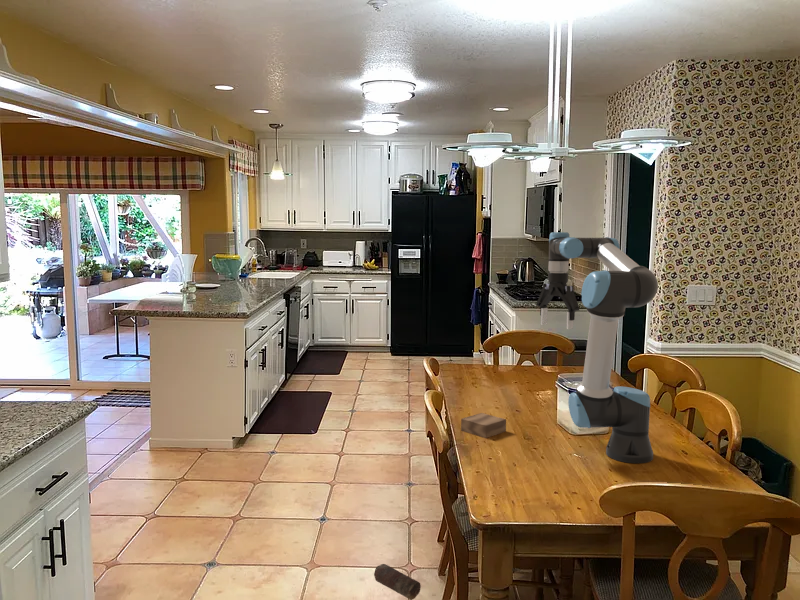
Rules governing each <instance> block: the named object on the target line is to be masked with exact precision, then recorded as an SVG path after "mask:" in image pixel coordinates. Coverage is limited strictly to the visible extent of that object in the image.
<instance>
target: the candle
mask: <svg viewBox="0 0 800 600" xmlns="http://www.w3.org/2000/svg"><path fill="white" fill-rule="evenodd" d="M373 576H374V579H375V581H376V582H378V584H380V585H382V586H385V587H387V589H390V590H392V591H394V592H396V593H397V594H399V595H402V596H403V597H405V598H407V599H408V600H414V599H416V598H417V596H418V595H419V594H420V592H421V587H422V586H421V585H422V584H421V582H420V581H418V580H416V579H413V578H412V577H410V576H408V575H406V574H404V573H402V572H401V571H399V570H397V569H395V568H394V567H392V566H390V565H388V564H385V563H382V564H380V565H377V566H376V567H375V569H374V572H373Z"/></svg>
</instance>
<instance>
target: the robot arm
mask: <svg viewBox="0 0 800 600" xmlns="http://www.w3.org/2000/svg"><path fill="white" fill-rule="evenodd" d="M548 239H549V240H548V270H547V271H549V272H548V273H547V275H548V276H547V281H548V283H543V284H542V289H541V291H540V294H539V297H538V299H537V302H536V304H535V305H536V307H539V308H540V312H539V315H540V325H541V326H544V325H548V305H549V303H550V302H551V301H552V300H553V298H554V297H560V299H561V300H562V302H563V303H564V305H565V307H566V309H567V312H566V330H571V329H574V321H575V315H576V314H575V313H576V312H577V311H580V307H579V304H578V300H577V298H576V294H575V292H574V290H575V289H574V285H568V282H569V273H568V272H569V261H570V259H598V261H600V262H601V263H602V264H603V265H604V266H605V267H607V269H608V270H606V269H605V270H599V271H598V270H597V271H596V270H594V271H592V272H590V273H589V274H588V275H586V277H585V279H584V281H583V284H582V287H581V293H580V295H581V303H582V305H583V306H584V307H585V308H586V312H587V313H588V314H589V316H590V317H589V318H590V320H589V327H588V334H587V342H586V350H585V357H584V358H585V359H584V365H583V371H582V372H583V373H582V380H581V382H579V383H578V384H577V385H576V391H575V392H571V393H570V394H569V396H568V399H567V400H568V402H567V403H568V411H569V415H570V418H571V420H572V422H573V424H574V425H575V426H576V427H578V428H583V429H584V428H585V429H591V428H592V429H594V428H612V431H611V434H610V436H609V439H608V442H607V444H606V448H605V454H606V456H607V457H609V458H611V459H613V460H615V461H617V462H622V463H626V464H627V463H629V464H646V463H650V462H652V461H653V459H654V451H653V449H652V448H653V447H652V444H651V441H650V436H649V433H650V432H649V431H650V412H651V411H650V410H651V397H650V395H649V393H647V392H646V391H643V390H642V389H638V388H634V387H628V386H622V385H621V386H614V388H613V389H612V388H611V387H610V381H611V375H612V368H613V362H614V361H613V360H614V353H615V347H616V340H617V339H616V338H617V332H618V325H619V320H620V319H621V318H623V317H624V316H625V312H626V308H628V309H629V308H631V309H632V308H641V307H643V306H645V305H647V304H648V303H649V304H650V303H651V301H653V300H654V298H655V297H656V294H657V292H658V289H659V282H658V279H657V277H656V275H655V274H654V272H653V271H652V270H651V269H649V268H647V267H646V266H643V265H639V264H638V263H637V262H636V261H634V260H633V259H632V258H630V257H629V255H627V254H626V253H625V252H624V251H622V250H621V248H620V244H619V241H618V239H617V238H615V237H608V236H607V237H605V236H604V237H575V236H574V237H572V236H571V237H570V232H563V231H562V232H557V231H556V232H555V231H553V232H550V234H549V238H548Z"/></svg>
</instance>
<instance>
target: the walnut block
mask: <svg viewBox="0 0 800 600" xmlns="http://www.w3.org/2000/svg"><path fill="white" fill-rule="evenodd" d="M460 422H461V425H460V426H461V427H460V431H461V432H464V433H467V434H471V435H475V436H477V437H481V438H484V439H487V438H490V437H492V436H497V435H499V434H502V433H505V432H507V419H506V418H502V417H499V416H495V415H490V414H487V413H483V412H480V413H476V414H473V415H469V416H467V417H463V418H461V421H460Z"/></svg>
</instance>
